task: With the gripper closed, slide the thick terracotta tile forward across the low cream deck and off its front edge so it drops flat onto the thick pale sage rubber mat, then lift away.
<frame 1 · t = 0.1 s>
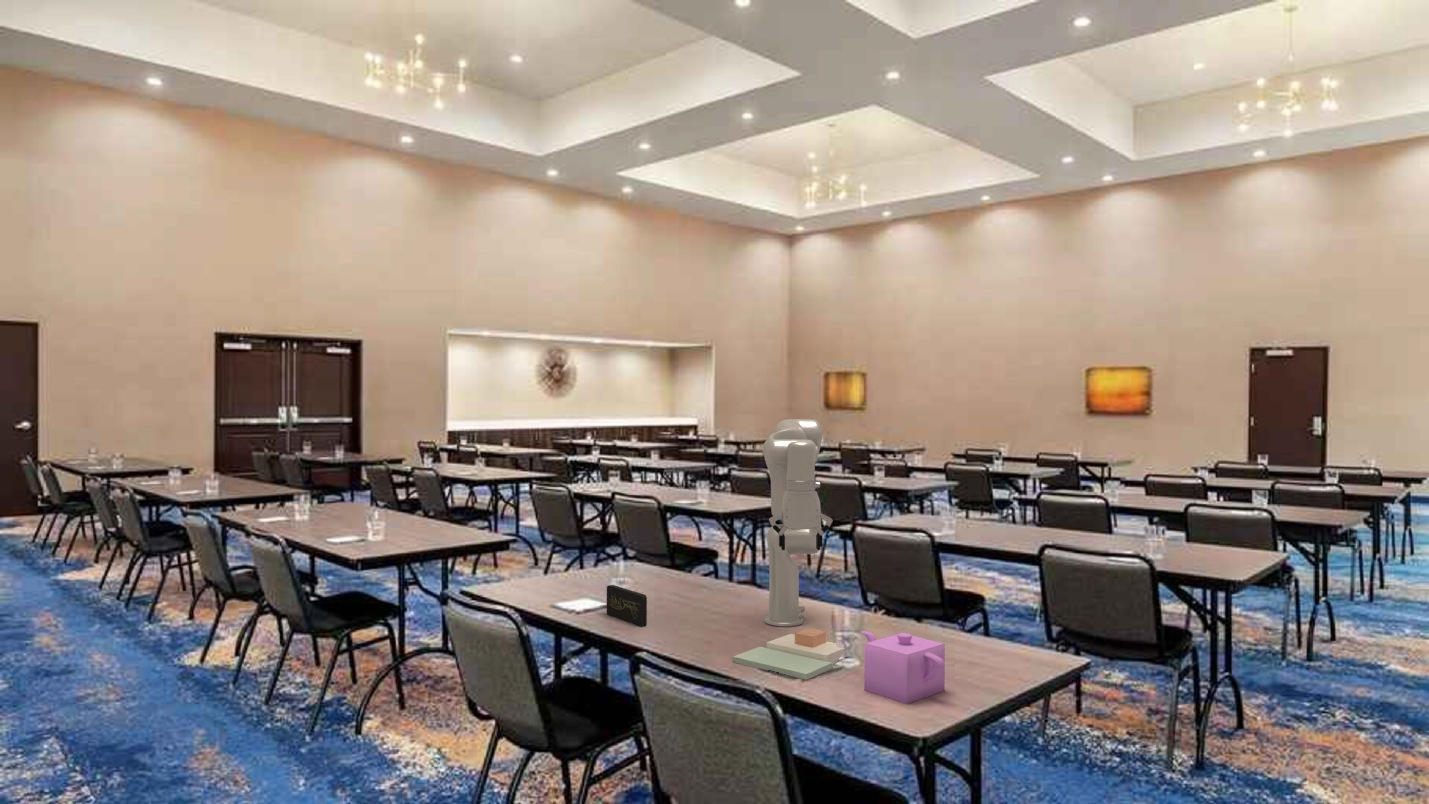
hand: (800, 549, 238), 31 cm above the table, tool pointing down, fingers open, 9 cm apart
cream deck: (807, 654, 246), on the table
sage mat: (782, 665, 236), on the table
terracotta tile: (810, 643, 247), point 3 cm above the table, touching cream deck
teapot: (900, 690, 217), on the table
nameplate: (626, 621, 284), on the table
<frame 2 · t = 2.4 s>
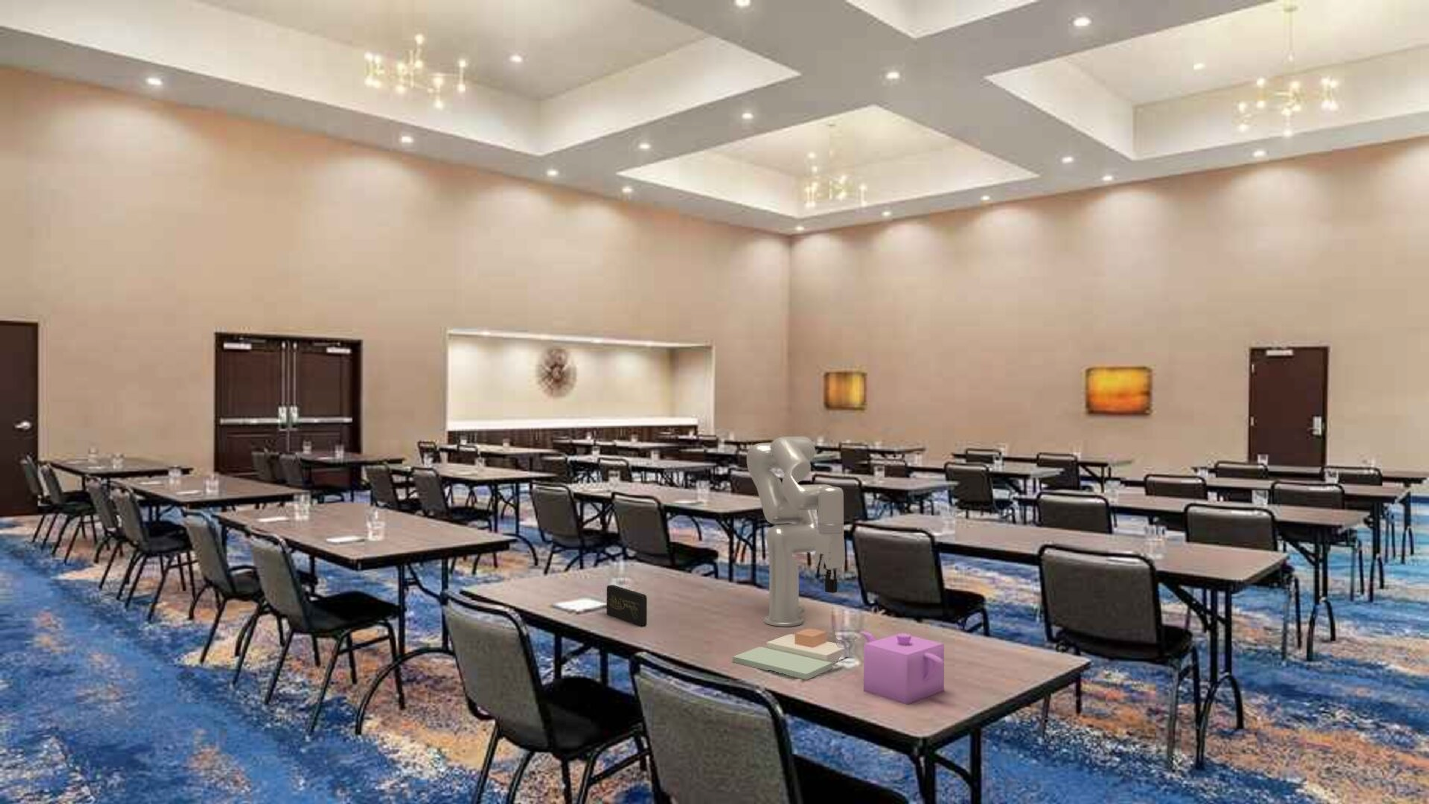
hand: (831, 592, 255), 16 cm above the table, tool pointing down, fingers closed
nothing on the table moved.
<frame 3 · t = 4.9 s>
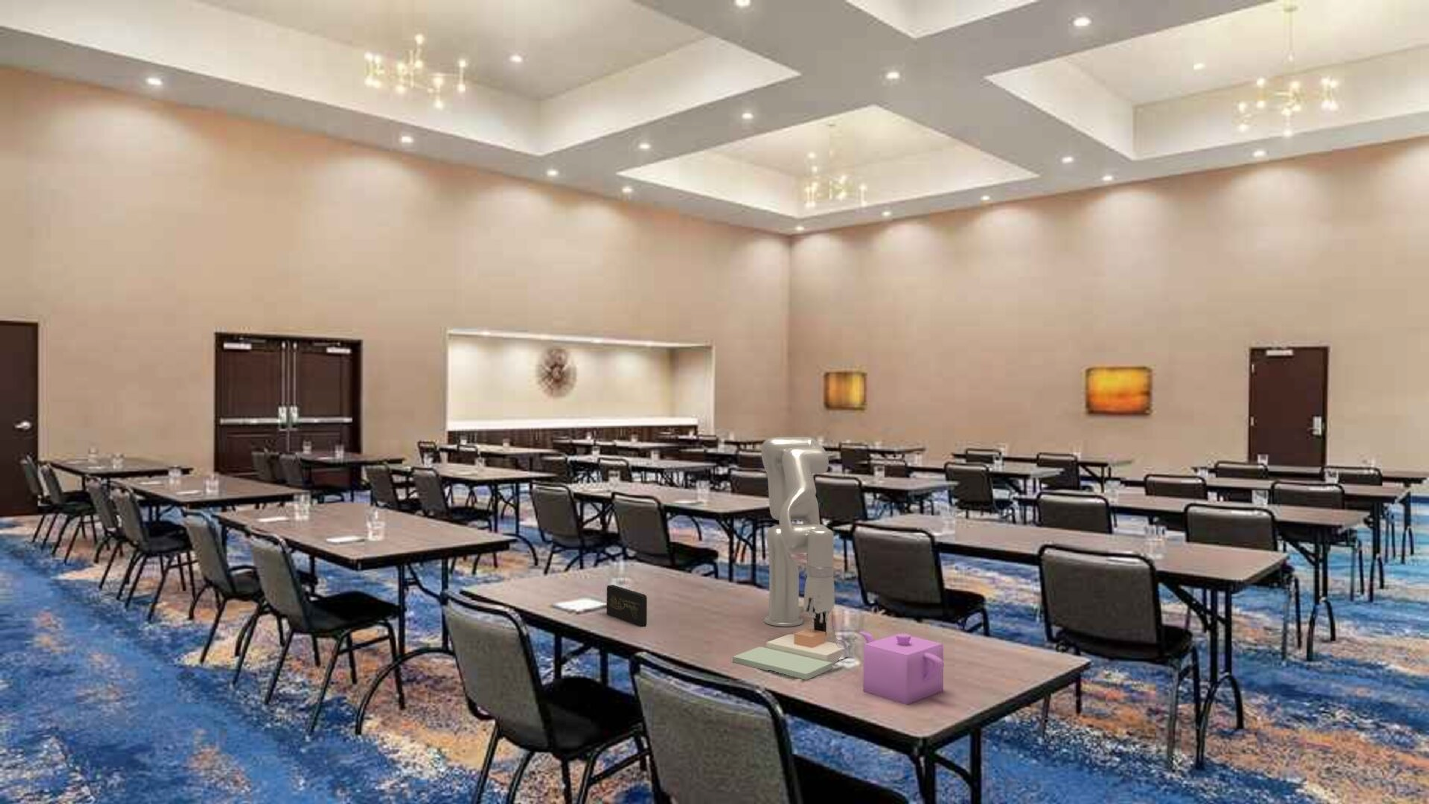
hand: (820, 635, 251), 4 cm above the table, tool pointing down, fingers closed
nothing on the table moved.
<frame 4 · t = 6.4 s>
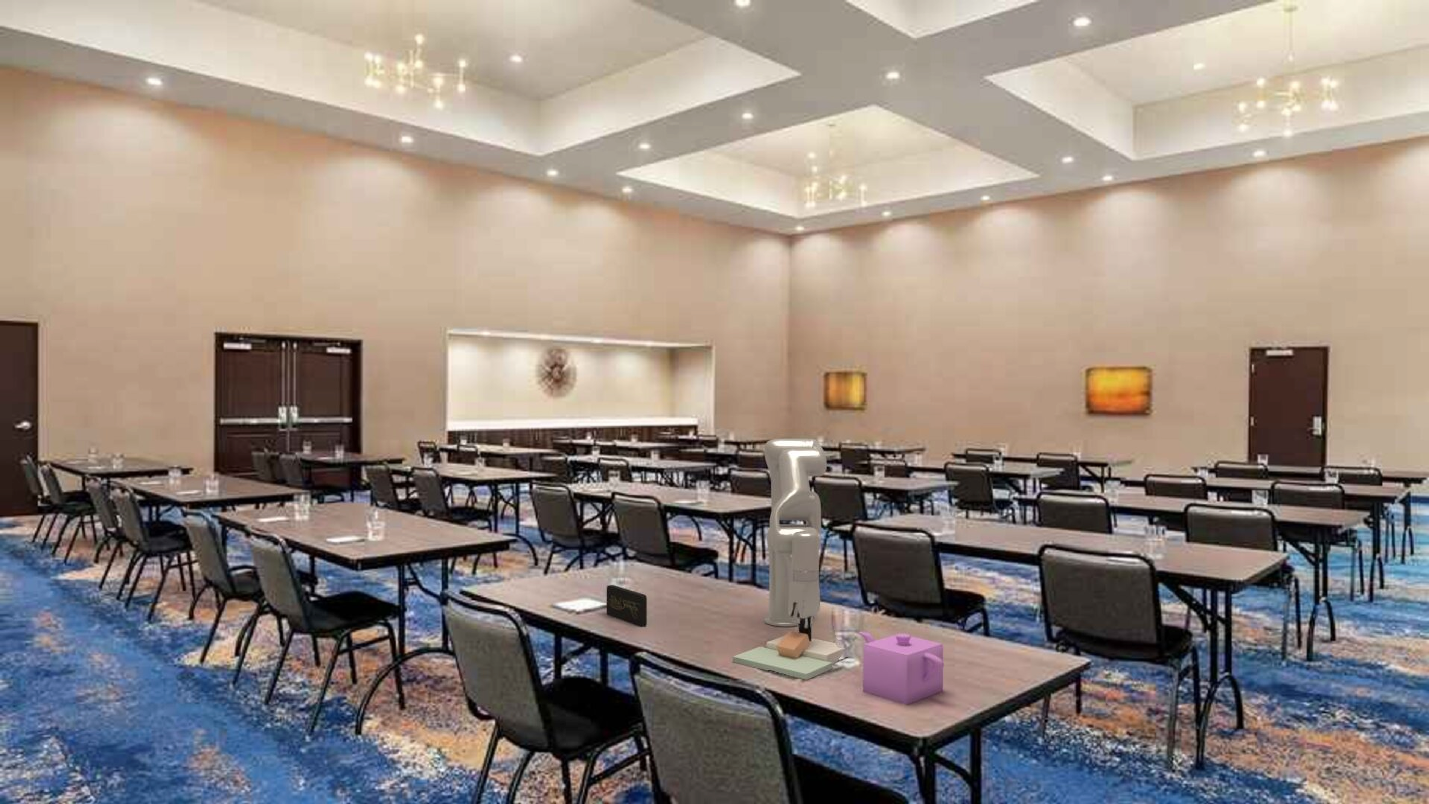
hand: (805, 640, 245), 4 cm above the table, tool pointing down, fingers closed
terracotta tile: (794, 649, 241), point 3 cm above the table, tilted 25°, touching sage mat
everything else where it was.
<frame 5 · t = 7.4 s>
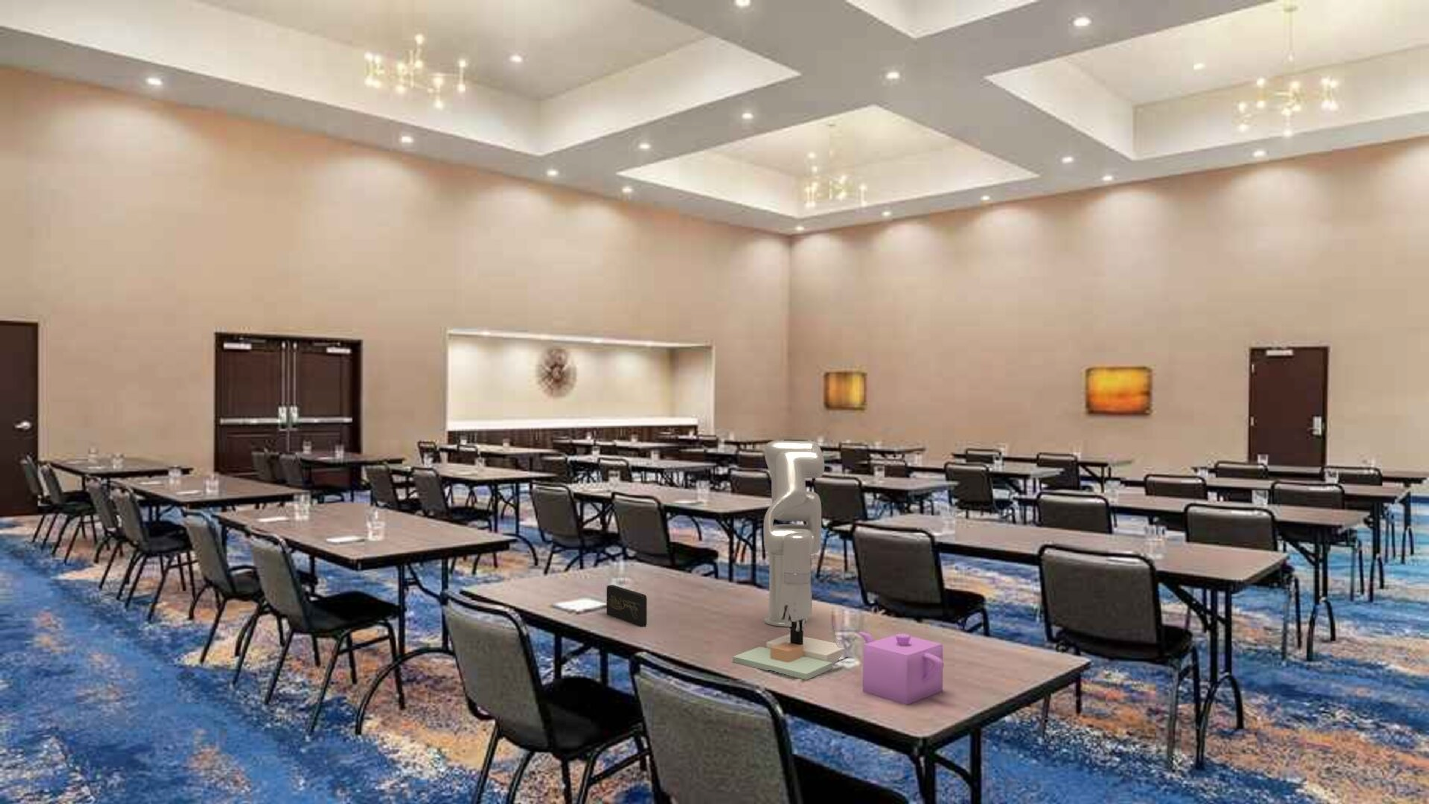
hand: (796, 644, 242), 4 cm above the table, tool pointing down, fingers closed
terracotta tile: (786, 657, 238), point 1 cm above the table, touching gripper, sage mat
everything else where it was.
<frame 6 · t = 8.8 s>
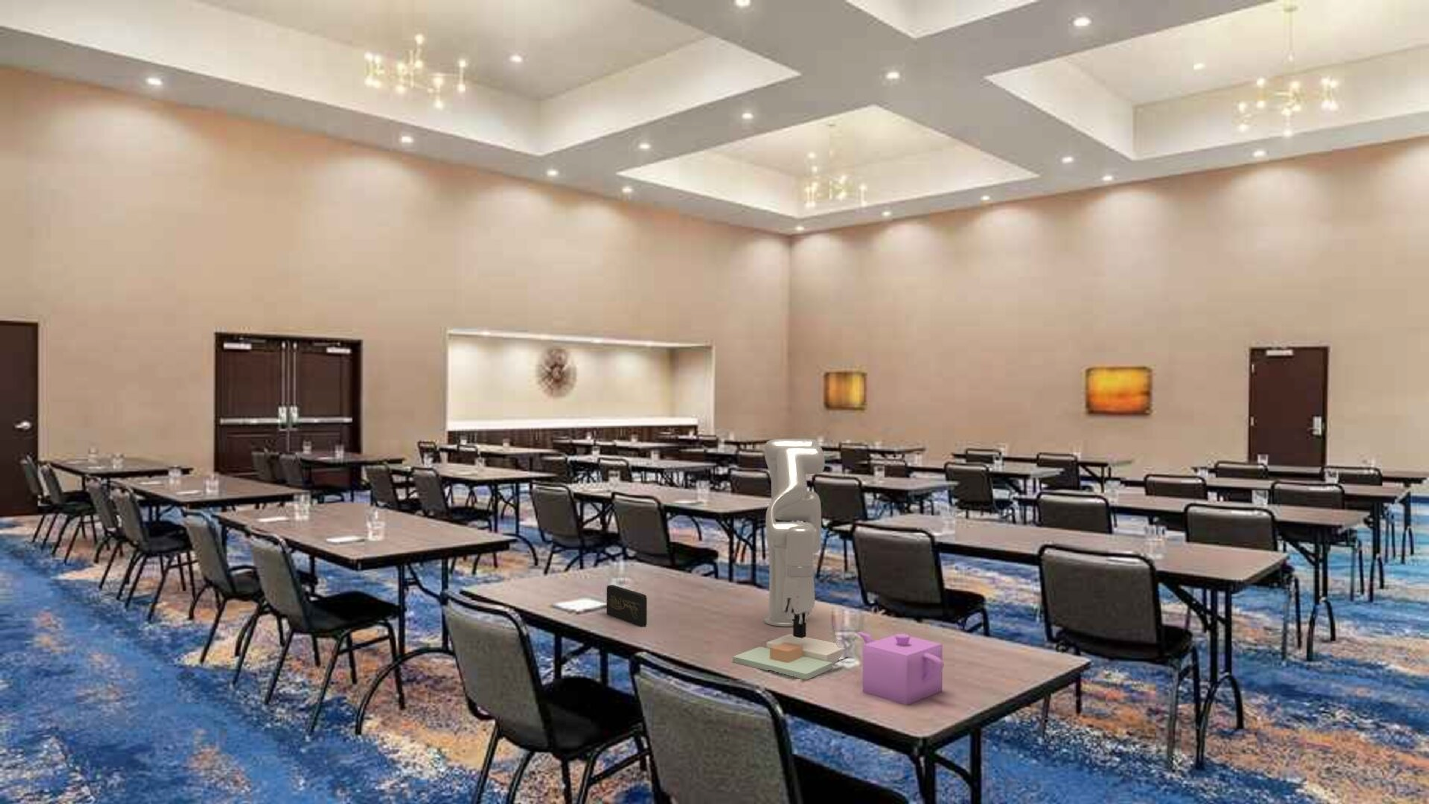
hand: (799, 636, 243), 6 cm above the table, tool pointing down, fingers closed
terracotta tile: (786, 657, 238), point 1 cm above the table, touching sage mat
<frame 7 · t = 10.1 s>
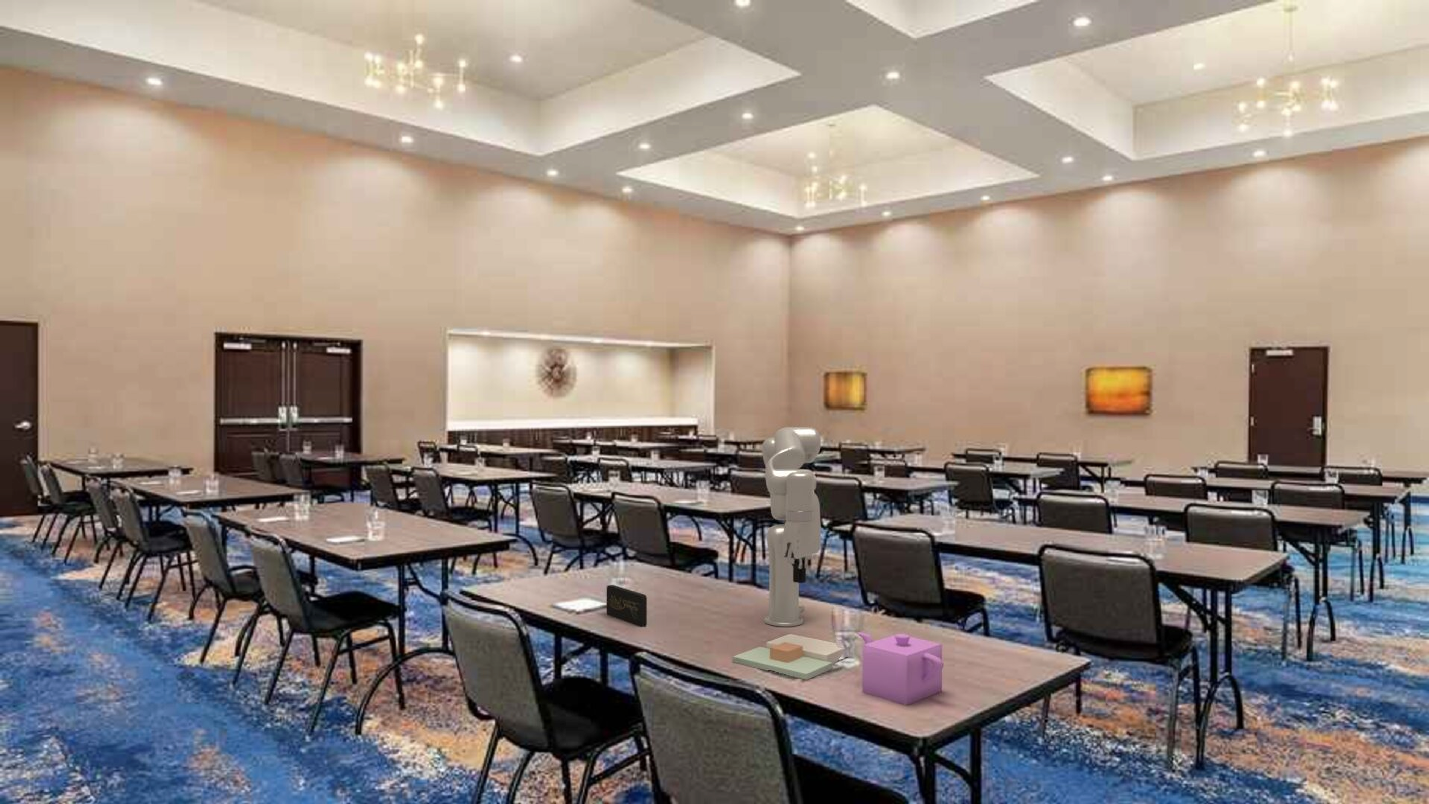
hand: (799, 582, 243), 21 cm above the table, tool pointing down, fingers closed
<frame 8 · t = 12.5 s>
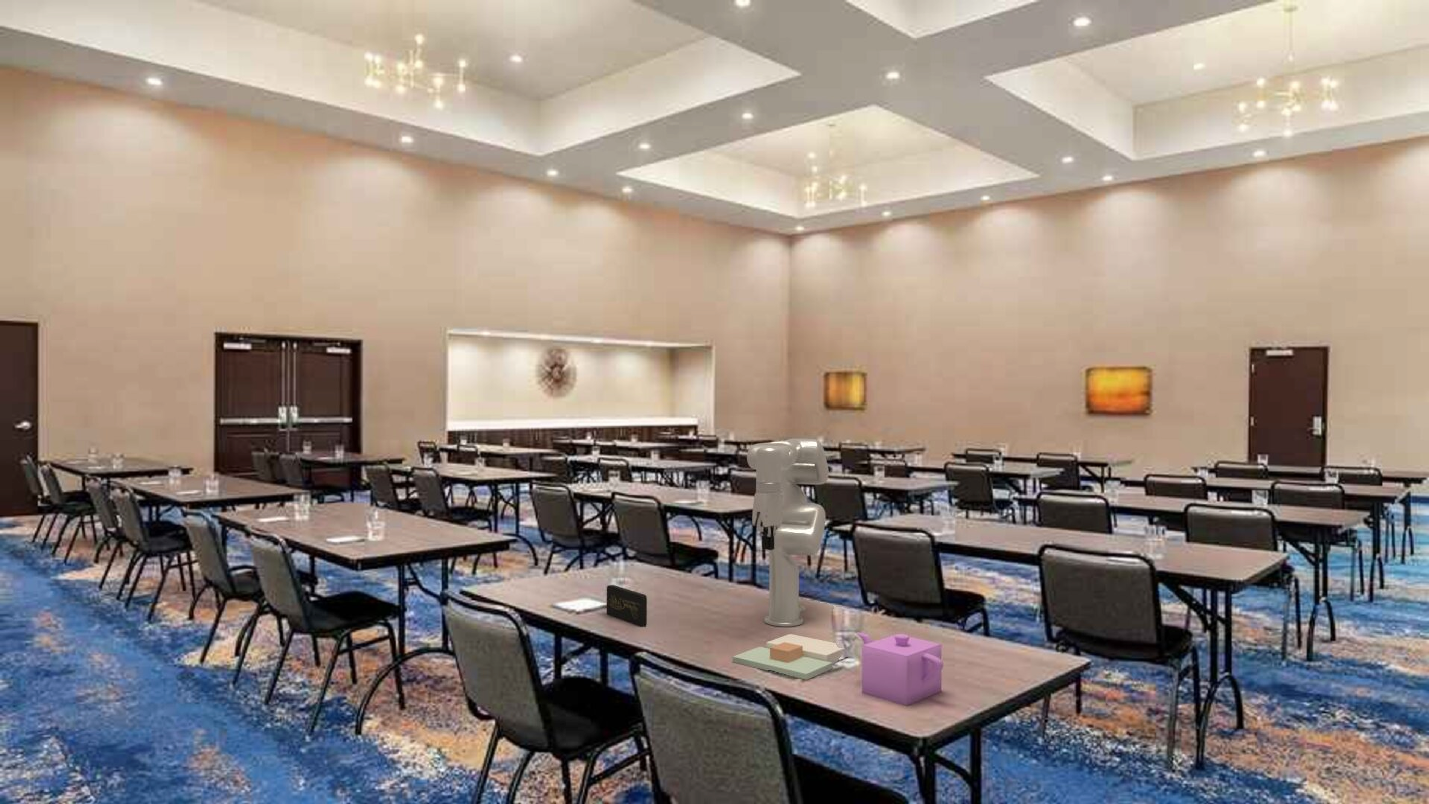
hand: (768, 549, 262), 27 cm above the table, tool pointing down, fingers closed
at the end: terracotta tile point 1.5 cm above the table; terracotta tile inside the target area (2.2 cm from its centre), point 1.5 cm above the table; terracotta tile tilted 0° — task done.
